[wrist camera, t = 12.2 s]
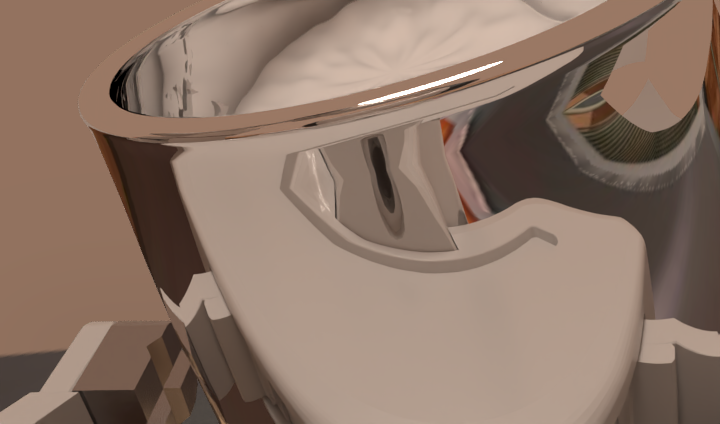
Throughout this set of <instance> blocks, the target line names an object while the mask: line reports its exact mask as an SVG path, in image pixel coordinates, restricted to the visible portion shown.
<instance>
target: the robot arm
mask: <svg viewBox="0 0 720 424" xmlns="http://www.w3.org/2000/svg"><path fill="white" fill-rule="evenodd" d="M181 349H182V346H181V344H180V341H179V339H178V337H177V334H176V332H175V330H174V327H173V325H172V323H171V321H118V322H90V323H88V324H87V325H84V326H83V327H82V329H81V330H80V332H79V333H78V335H77V336H76V338H75V339H74V341H73V342H72V344H71V345H70V347H69V348H68V350H67V351H66V353H65V354H64V356H63V357H62V359H61V360H60V362H59V363H58V365H57V366H56V368H55V369H54V371H53V372H52V374H51V375H50V377H49V378H48V380H47V381H46V383H45V384H44V386H43V387H42V389H41V390H40V392H36V393H29V394H28V395H26V396H24V397H23V398H21V399H20V400H18V401H17V402H15V403H14V404H12V405H11V406H9V407H8V408H6V409H5V410H3V411H1V412H0V424H181V423H182V422H183V421H184V420H185V419H187V418H188V417H189V416H190V415H191V412H192V410H193V407H194V404H195V402H196V394H197V386H198V382H197V377H196V375H195V373H194V371H193V369H192V367H191V365H190V363H189V361H188V359H187V356H186V354H185V353H184V352H183V351H182V350H181Z"/></svg>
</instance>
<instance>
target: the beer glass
mask: <svg viewBox="0 0 720 424" xmlns="http://www.w3.org/2000/svg"><path fill="white" fill-rule="evenodd" d="M78 108H79V112H80V116H81V118H82V119H83V121H84V122H85V124H86V125H87V126H88V128H89V129H90V131H91V132H92V134H93V136H94V139H95V141H96V143H97V145H98V147H99V149H100V151H101V154H102V156H103V158H104V160H105V163H106V165H107V167H108V169H109V172H110V175H111V177H112V179H113V182H114V184H115V186H116V189H117V191H118V193H119V196H120V198H121V201H122V203H123V206H124V208H125V211H126V213H127V216H128V218H129V221H130V223H131V226H132V228H133V231H134V233H135V236H136V238H137V241H138V244H139V246H140V249H141V251H142V254H143V256H144V259H145V261H146V264H147V266H148V269H149V271H150V273H151V276H152V278H153V280H154V283H155V285H156V288H157V290H158V292H159V294H160V297H161V299H162V302H163V304H164V306H165V308H166V311H167V313H168V316H169V318H170V320H171V323H172V325H173V327H174V330H175V332H176V334H177V337H178V339H179V341H180V344H181V346H182V348H183V350H184V352H185V354H186V356H187V359H188V361H189V363H190V365H191V367H192V369H193V371H194V373H195V375H196V377H197V379H198V381H199V383H200V385H201V387H202V389H203V391H204V393H205V395H206V397H207V399H208V401H209V403H210V405H211V408H212V410H213V412H214V414H215V416H216V418H217V420H218V422H219V424H720V5H719V0H201V1H199V2H197V3H195V4H193V5H191V6H189V7H187V8H185V9H183V10H181V11H179V12H177V13H175V14H173V15H171V16H170V17H168V18H166V19H164V20H163V21H161V22H159V23H157V24H155V25H153V26H152V27H150V28H149V29H147V30H145V31H144V32H142V33H140V34H139V35H137V36H136V37H134V38H133V39H131V40H130V41H128V42H127V43H125V44H124V45H123V46H121V47H120V48H118V49H117V50H116V51H115V52H113V53H112V54H111V55H110V56H109V57H107V58H106V59H105V60H104V61H103V62H102V63H101V64H100V65H99V66H98V67H97V68H96V69H95V70H94V71H93V72H92V74H91V75H90V76H89V77H88V79H87V80H86V81H85V83H84V85H83V86H82V89H81V91H80V94H79V99H78Z"/></svg>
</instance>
